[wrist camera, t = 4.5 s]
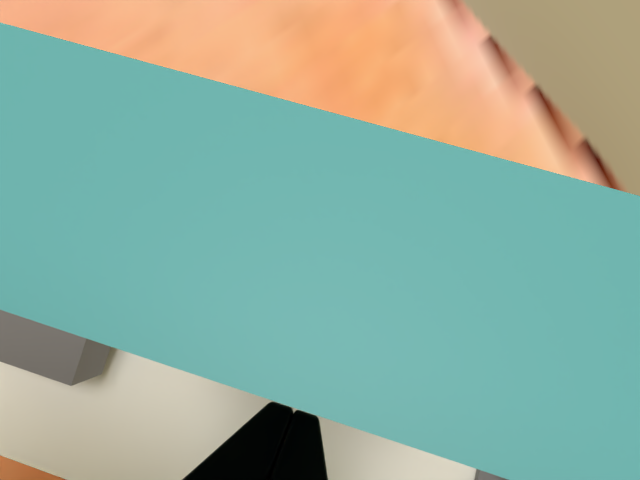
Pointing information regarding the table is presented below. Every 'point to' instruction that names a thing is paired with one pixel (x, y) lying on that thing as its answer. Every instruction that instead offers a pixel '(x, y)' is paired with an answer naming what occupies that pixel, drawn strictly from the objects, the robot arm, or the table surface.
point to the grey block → (49, 350)
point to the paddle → (323, 261)
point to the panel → (170, 427)
